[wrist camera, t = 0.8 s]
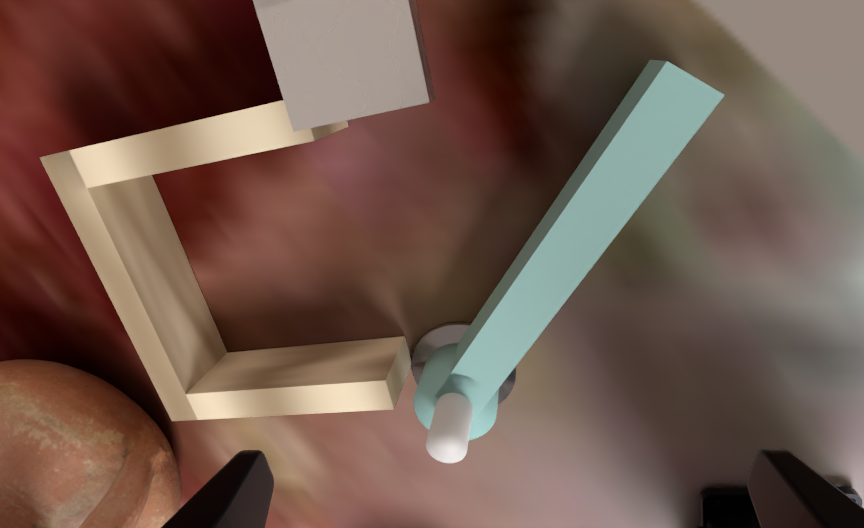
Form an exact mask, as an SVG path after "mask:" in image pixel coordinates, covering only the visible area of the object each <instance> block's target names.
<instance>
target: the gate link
mask: <svg viewBox="0 0 864 528" xmlns="http://www.w3.org/2000/svg"><path fill="white" fill-rule="evenodd" d="M723 97H724V94H722V93H720V92H719V91H717V90H715V89H714V88H712V87H710V86H709V85H707V84H705V83H704V82H702V81H700V80H698V79H697V78H695V77H693V76H692V75H690V74H688V73H687V72H685V71H683V70H682V69H680V68H678V67H676V66H675V65H673V64H671V63H670V62H668V61H661V60H649V62H648V63H647V65H646V66H645V68H644V69H643V71H642V72H641V74H640V75H639V77H638V78H637V80H636V81H635V83H634V84H633V86H632V87H631V89H630V90H629V91H628V93H627V94H626V96H625V97H624V99H623V100H622V102H621V103H620V105H619V106H618V108H617V109H616V111H615V112H614V114H613V115H612V117H611V118H610V120H609V121H608V123H607V124H606V125H605V127H604V128H603V130H602V131H601V133H600V134H599V136H598V137H597V139H596V140H595V142H594V143H593V145H592V146H591V148H590V149H589V151H588V152H587V154H586V155H585V157H584V158H583V159H582V161H581V162H580V164H579V165H578V167H577V168H576V170H575V171H574V173H573V174H572V176H571V177H570V179H569V180H568V182H567V183H566V185H565V186H564V188H563V189H562V191H561V192H560V193H559V195H558V196H557V198H556V199H555V201H554V202H553V204H552V205H551V207H550V208H549V210H548V211H547V213H546V214H545V216H544V217H543V219H542V220H541V222H540V223H539V225H538V226H537V227H536V229H535V230H534V232H533V233H532V235H531V236H530V238H529V239H528V241H527V242H526V244H525V245H524V247H523V248H522V250H521V251H520V253H519V254H518V256H517V257H516V258H515V260H514V261H513V263H512V264H511V266H510V267H509V269H508V270H507V272H506V273H505V275H504V276H503V278H502V279H501V281H500V282H499V284H498V285H497V287H496V288H495V290H494V291H493V292H492V294H491V295H490V297H489V298H488V300H487V301H486V303H485V304H484V306H483V307H482V309H481V310H480V312H479V313H478V315H477V316H476V318H475V319H474V321H473V322H472V324H471V325H470V326H469V328H468V329H467V331H466V332H465V334H464V335H463V337H462V338H461V340H460V341H459V343H452V344H447V345H444V346H441V347H439V348H437V349H436V350H435V351H433V352H432V353H431V354H430V356H429V357H428V359H427V361H426V363H425V366H424V369H423V372H422V375H421V378H420V381H419V384H418V387H417V390H416V393H415V396H414V409H415V413H416V415H417V417H418V419H419V420H420V422H421V423H422V424H423V425H424V426H425V427H426V428H427V429H428V430H429V433H428V437H427V441H426V448H427V451H428V452H429V454H430V455H431V456H432V457H433V458H435V459H436V460H438V461H441V462H444V463H455V462H458V461H460V460H462V459H463V458H464V457H465V455H466V452H467V447H468V440H472V439H476V438H478V437H480V436H482V435H484V434H485V433H486V432H488V431H489V430H490V429H491V427H492V426H493V424H494V422H495V420H496V416H497V406H498V395H499V387H500V386H501V385H502V383H503V382H504V381H505V379H506V378H507V377H508V376H509V374H510V373H511V372H512V370H513V369H514V368H515V366H516V365H517V364H518V363H519V361H520V360H521V359H522V357H523V356H524V355H525V353H526V352H527V351H528V350H529V348H530V347H531V346H532V344H533V343H534V342H535V341H536V339H537V338H538V337H539V335H540V334H541V333H542V331H543V330H544V329H545V328H546V326H547V325H548V324H549V322H550V321H551V320H552V318H553V317H554V316H555V315H556V313H557V312H558V311H559V309H560V308H561V307H562V305H563V304H564V303H565V302H566V300H567V299H568V298H569V296H570V295H571V294H572V293H573V291H574V290H575V289H576V287H577V286H578V285H579V283H580V282H581V281H582V280H583V278H584V277H585V276H586V274H587V273H588V272H589V270H590V269H591V268H592V267H593V265H594V264H595V263H596V261H597V260H598V259H599V257H600V256H601V255H602V254H603V252H604V251H605V250H606V248H607V247H608V246H609V245H610V243H611V242H612V241H613V239H614V238H615V237H616V235H617V234H618V233H619V232H620V230H621V229H622V228H623V226H624V225H625V224H626V222H627V221H628V220H629V219H630V217H631V216H632V215H633V213H634V212H635V211H636V209H637V208H638V207H639V206H640V204H641V203H642V202H643V200H644V199H645V198H646V197H647V195H648V194H649V193H650V191H651V190H652V189H653V187H654V186H655V185H656V184H657V182H658V181H659V180H660V178H661V177H662V176H663V174H664V173H665V172H666V171H667V169H668V168H669V167H670V165H671V164H672V163H673V161H674V160H675V159H676V158H677V156H678V155H679V154H680V152H681V151H682V150H683V148H684V147H685V146H686V145H687V143H688V142H689V141H690V139H691V138H692V137H693V136H694V134H695V133H696V132H697V130H698V129H699V128H700V126H701V125H702V124H703V123H704V121H705V120H706V119H707V117H708V116H709V115H710V113H711V112H712V111H713V110H714V108H715V107H716V106H717V104H718V103H719V102H720V100H721V99H722V98H723Z"/></svg>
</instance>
